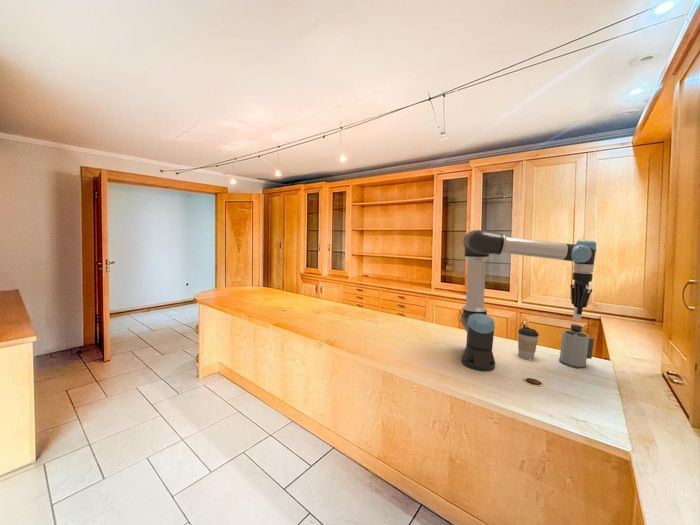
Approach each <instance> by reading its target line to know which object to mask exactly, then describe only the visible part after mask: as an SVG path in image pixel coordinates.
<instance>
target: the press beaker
mask: <svg viewBox="0 0 700 525" xmlns="http://www.w3.org/2000/svg"><path fill="white" fill-rule="evenodd" d="M574 333H575V331H572V330H571V329H570V330H569V329H566V330H562V333H561V334H562V335H561V344H560V353H559V354H560V355H559V358H558V362H559V361H560V362H561V364H562V365H563V366H566V365H567V367H569V366H570V367H569V368H573V367H574V369H579V368H583V369H586V368H587V359H588V360H589V359H590V360H592V357H593V349H594V342H595V338H593V337H590V335H589V334H587V333H585V332H577V336H574ZM560 362H559V363H560Z"/></svg>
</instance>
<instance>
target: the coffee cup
mask: <svg viewBox="0 0 700 525" xmlns="http://www.w3.org/2000/svg"><path fill="white" fill-rule="evenodd" d="M517 333H518V338H517V339H518V340H517V343H518V344H517V350H518V357H519V358H521V359H523V358H524V360H528V359H532V360H534V358H535V354H536V351H537V345H538V339H539V338H538V337H539V332H538V331H537V330H536V329H534V328H530V327H529V326H524V327H521V328H520V329H518V332H517Z"/></svg>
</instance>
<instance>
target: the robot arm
mask: <svg viewBox="0 0 700 525" xmlns="http://www.w3.org/2000/svg"><path fill="white" fill-rule="evenodd" d="M462 240H463V241H462V243H463V244H462V245H463V248H464V255H463V256H464V257H465V259H466V260H467V263H466V264H467V265H466V266H467V267H466V295H465V296H466V297H465V299H466V300H465V302H466V303H465V305H463V306H462V314H461V318H460V323H461V325H462V327H463V329H464V330H465V331H466V341H465V343H466V344H465V348H464V350H463V352H462V354H461V358H460V361H461V364H463V365H464V366H466V367H468V368H470V369H473V370H475V371H476V370H477V371H483V372H486V371H487V372H488V371H489V372H490V371H492V370H494V369H495V368H496V361H495V356H494V353H493V347H494V346H493V345H494V335H495V328H496V327H495V320H494V318H493V317H492V316H489V315H488V309H487V308H486V307H485V286H486V285H485V283H486V281H485V280H486V260H488V259H489V257H490V255H503V254H507V255H510V254H511V255H517V256H524V257H525V256H526V257H535V258H543V259H550V260H551V259H553V260H558V261H565V262H566V261H567V262H574V263H573V270H572V271H573V273H572V280H573V281H574V282H573V283H572V284H570V285H569V286H570V294H571V295H570V299H571V300H570V301H571V305H573V314H572V315H573V316H572V320H573V321H578V322H579V321H580V322H581V320H582V315H583V309H584V308H587V306H588V302H589V299H590V295H592V292H593V289H592V288H590V282H592V281H593V274H592V273H594V268H595V267H594V266H595V260H596V259H595V258H596V252H597V242H596V241H594V240H580V239H579V240H577V241H576V243H573V244H572V243H564V242H563V243H562V242H555V241H547V240H538V239H528V238H518V237H509V236H506V235H505V234H503V233H496V232H491V231H487V230H483V229H482V230H481V229H480V230H479V229H475V230H471V231H469V232H467V234H465V236H464V238H463V239H462Z"/></svg>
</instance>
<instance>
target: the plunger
mask: <svg viewBox="0 0 700 525" xmlns="http://www.w3.org/2000/svg"><path fill="white" fill-rule="evenodd" d="M570 330H572V331H575V333H574V336H577V332H582V331H583V326H582V325H580V324H575V323H574V324H573V323H572V324H571V325H570ZM582 333H583V332H582Z"/></svg>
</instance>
